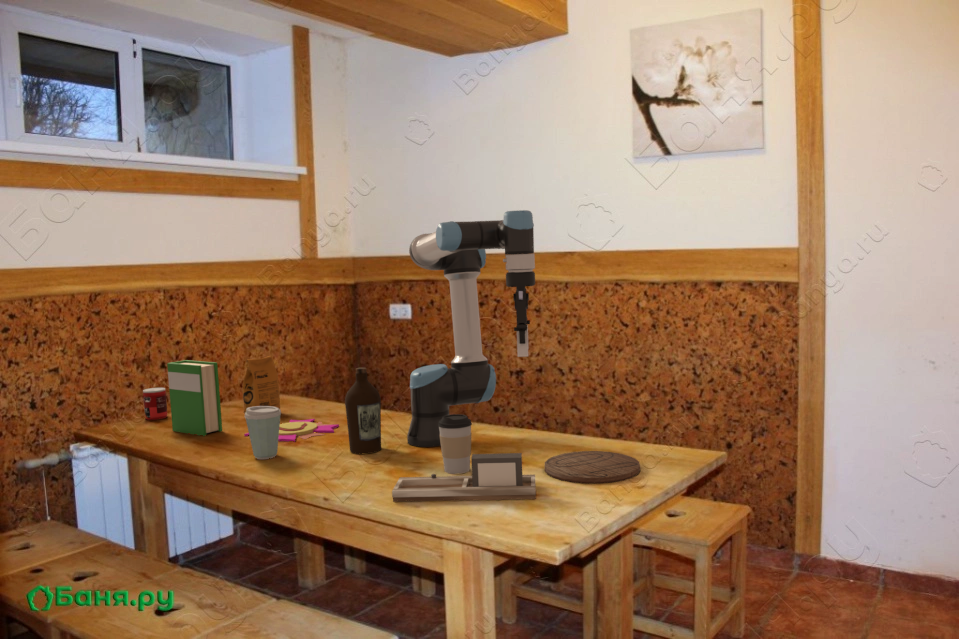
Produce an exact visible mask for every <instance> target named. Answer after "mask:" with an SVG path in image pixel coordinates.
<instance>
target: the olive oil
mask: <svg viewBox="0 0 959 639" xmlns="http://www.w3.org/2000/svg"><path fill="white" fill-rule="evenodd" d="M381 400H382V399H381V394H380V392H379V390H378V389H377V388H376V387H375V386H374V385H373V384H372V383H371V382H370V381H369V380H368V372H367V368H366V367H365V366H364V367H357V368H355V381H354V383H353V384H352V385H351V386H350V388H349V389H348V390H347V392H346V394H345V398H344V406H345V413H346V414H345V416H346V421H347V422H346V423H347V432H348V443H349V444H348V445H349V452H350V453H352V454H355V453H356V455H357V454H358V455H363V454H362V453H368V454H374V453H377V452H379V451H381V449H382V420H381V419H382V416H381V414H382V413H381V412H382V408H381V406H382V404H381V402H382V401H381ZM359 453H360V454H359Z"/></svg>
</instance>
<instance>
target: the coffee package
mask: <svg viewBox="0 0 959 639" xmlns="http://www.w3.org/2000/svg"><path fill="white" fill-rule="evenodd" d="M246 364H247V367H246V373H245V375H244V378H243V382H242V390H241V391H242V402H243V414H244V415H245V413H246V409H247V408H249V407H254V406H272V407H277V408H279V409H280V410H281V399H280V398H281V397H280V383H279V375H278V371H277V368H276V365H275V363H274V360H273V357H272V355H268V356H265V357H262V358H247V359H246Z"/></svg>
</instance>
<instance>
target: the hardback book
mask: <svg viewBox="0 0 959 639" xmlns="http://www.w3.org/2000/svg"><path fill="white" fill-rule="evenodd" d="M166 366H167V378H168V388H169V389H168V390H169V402H170V404H169V405H170V414H171V425H172V426H171V428H172V431H173V432H175V433H177V432H178V433H183V434H188V433H190V434H189V435H194V434H197V435H196V436H200V435H203V436H202V437H205V435H206V436H207V434H209V433H212V432H217V431H219V433H222V432H223V420H222V409H221V406H222V405H221V397H220V396H221V395H220V392H221V391H220V381H219V380H220V379H219V369H218V367H219V366H218V362H217V361H216V362H215V361H200V360H191V359H190V360H188V359H186V360H177V361H172V362H167V364H166ZM221 431H222V432H221Z"/></svg>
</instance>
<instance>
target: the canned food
mask: <svg viewBox="0 0 959 639" xmlns="http://www.w3.org/2000/svg"><path fill="white" fill-rule="evenodd" d="M142 400H143V408H144V409H143V410H144V411H143V412H144V418H145V419H146V420H148V421H155V420H156V421H157V420H162V419H166V418H167V417H168V406H167V402H168V401H167V390H166V388H165V387H151V388H150V387H149V388H145V389H143V390H142Z"/></svg>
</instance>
